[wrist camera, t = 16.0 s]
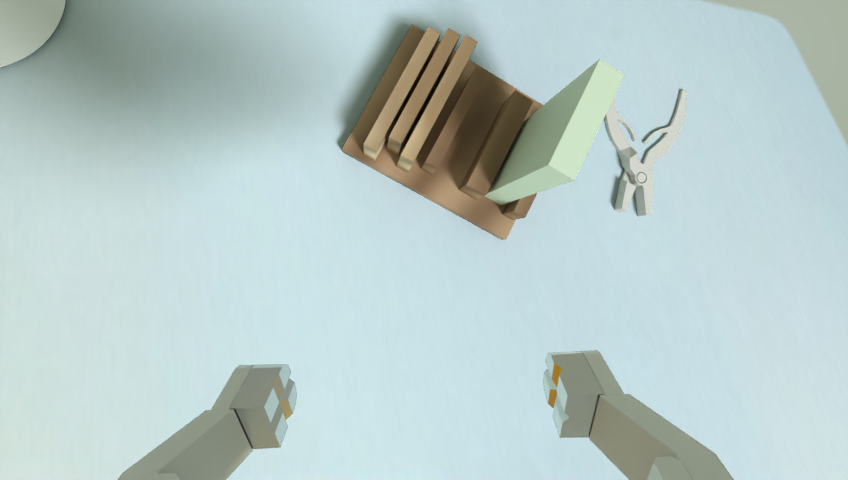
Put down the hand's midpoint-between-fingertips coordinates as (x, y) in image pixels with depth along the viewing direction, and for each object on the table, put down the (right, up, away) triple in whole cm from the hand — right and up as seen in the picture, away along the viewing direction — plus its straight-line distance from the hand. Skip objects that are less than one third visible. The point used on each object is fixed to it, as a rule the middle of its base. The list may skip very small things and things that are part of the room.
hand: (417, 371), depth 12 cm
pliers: (+24, +14, +29) cm, 40 cm away
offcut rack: (+3, +15, +25) cm, 29 cm away
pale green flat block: (+9, +12, +25) cm, 29 cm away
